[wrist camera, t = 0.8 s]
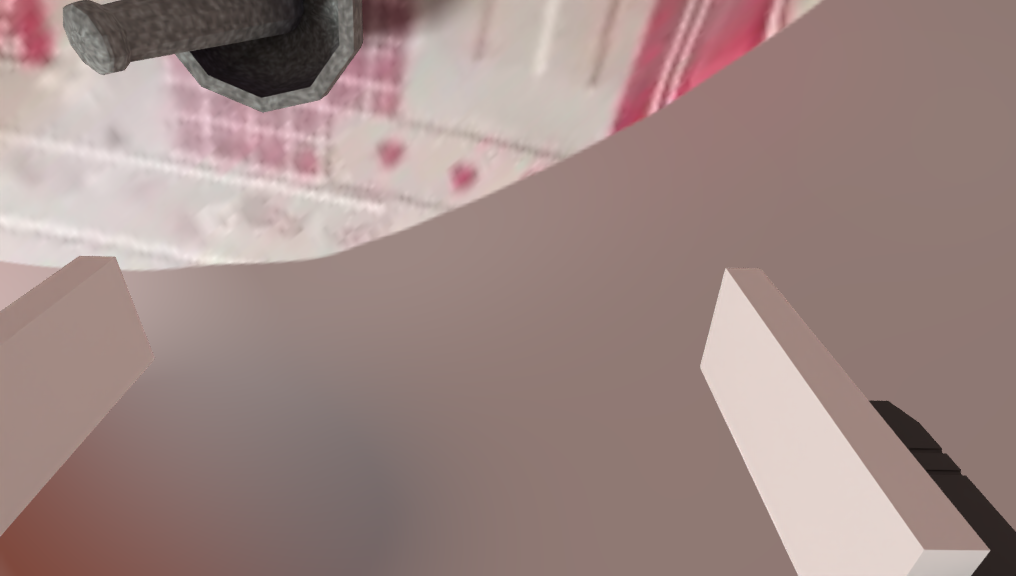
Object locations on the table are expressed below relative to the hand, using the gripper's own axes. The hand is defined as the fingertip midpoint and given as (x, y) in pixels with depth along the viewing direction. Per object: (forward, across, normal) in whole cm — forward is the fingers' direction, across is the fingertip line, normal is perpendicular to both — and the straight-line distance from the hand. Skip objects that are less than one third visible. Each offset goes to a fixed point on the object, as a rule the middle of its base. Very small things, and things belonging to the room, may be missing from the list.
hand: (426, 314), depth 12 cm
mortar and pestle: (+25, -11, +4) cm, 28 cm away
